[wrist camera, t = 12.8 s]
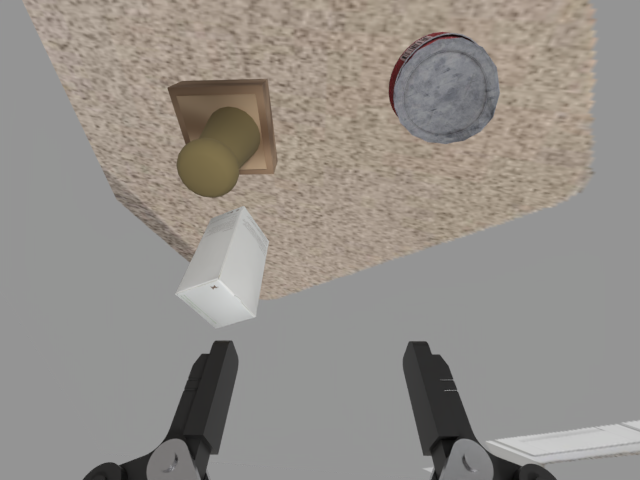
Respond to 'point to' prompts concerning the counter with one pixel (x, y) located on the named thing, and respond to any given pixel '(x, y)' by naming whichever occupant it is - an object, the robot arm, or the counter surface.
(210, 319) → the skincare box
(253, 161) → the base
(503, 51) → the counter surface
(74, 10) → the counter surface
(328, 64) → the counter surface
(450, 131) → the canned food
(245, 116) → the olive knobbed peg
